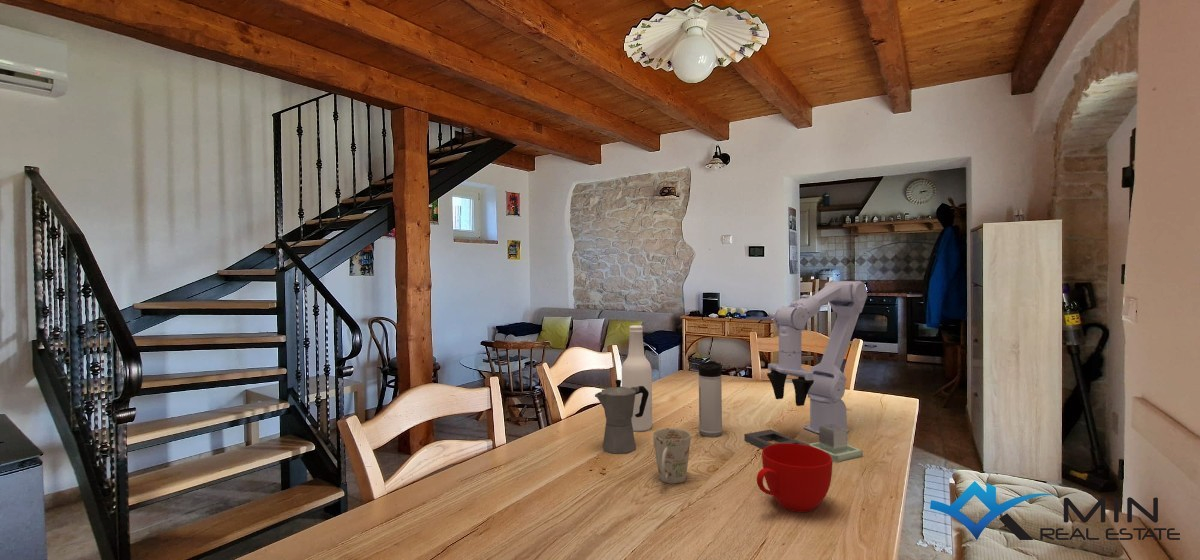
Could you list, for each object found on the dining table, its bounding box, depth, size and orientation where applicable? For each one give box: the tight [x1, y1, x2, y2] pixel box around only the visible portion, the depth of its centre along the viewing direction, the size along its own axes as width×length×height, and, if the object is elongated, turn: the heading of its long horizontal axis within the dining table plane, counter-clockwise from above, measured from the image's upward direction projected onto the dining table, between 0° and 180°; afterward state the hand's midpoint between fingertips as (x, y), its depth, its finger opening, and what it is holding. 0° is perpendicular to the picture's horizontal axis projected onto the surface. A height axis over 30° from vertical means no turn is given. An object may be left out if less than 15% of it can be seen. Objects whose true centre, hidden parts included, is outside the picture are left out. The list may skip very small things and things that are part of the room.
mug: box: [652, 427, 692, 484], centre depth 113 cm, size 8×13×10 cm, turn 161°
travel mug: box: [698, 360, 723, 438], centre depth 145 cm, size 6×7×20 cm
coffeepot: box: [594, 379, 649, 455], centre depth 135 cm, size 15×9×18 cm, turn 113°
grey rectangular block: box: [818, 424, 848, 455], centre depth 128 cm, size 4×4×6 cm
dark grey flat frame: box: [743, 429, 829, 454], centre depth 131 cm, size 20×9×2 cm, turn 23°
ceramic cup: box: [756, 443, 833, 513], centre depth 101 cm, size 13×17×10 cm
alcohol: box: [621, 324, 653, 432], centre depth 151 cm, size 9×9×30 cm
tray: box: [807, 441, 864, 463], centre depth 128 cm, size 9×9×2 cm
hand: (789, 402), depth 138 cm, fingers open, 7 cm apart
